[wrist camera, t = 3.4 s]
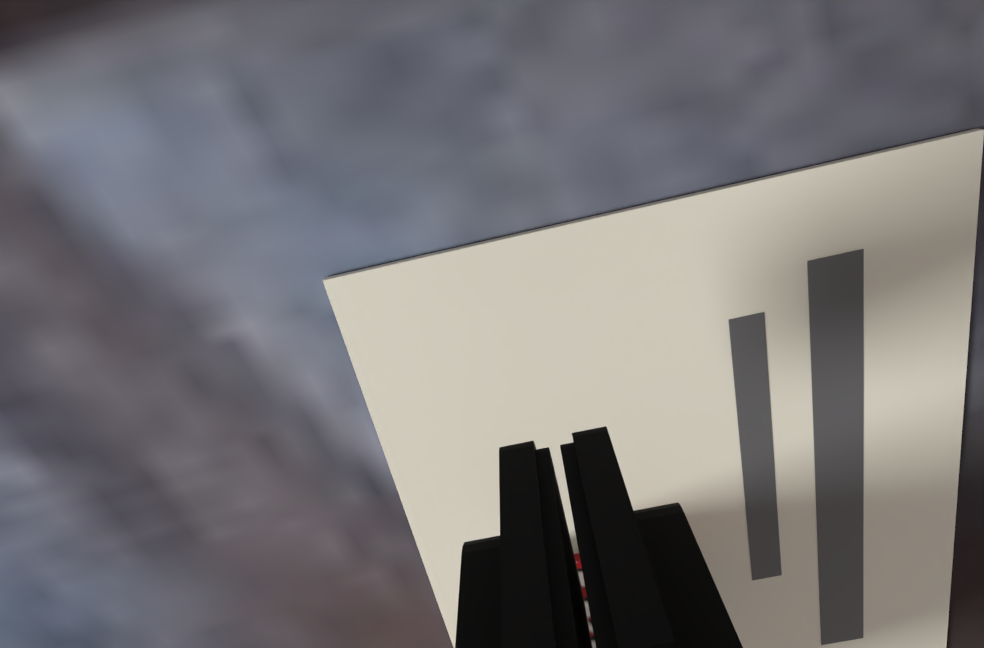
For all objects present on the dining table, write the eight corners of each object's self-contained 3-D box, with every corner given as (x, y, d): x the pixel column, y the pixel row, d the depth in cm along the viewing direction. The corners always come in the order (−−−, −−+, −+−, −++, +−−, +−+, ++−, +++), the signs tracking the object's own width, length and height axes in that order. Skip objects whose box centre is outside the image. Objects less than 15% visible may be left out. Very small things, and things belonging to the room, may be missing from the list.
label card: (324, 277, 14) (322, 280, 14) (977, 128, 13) (984, 129, 13) (488, 740, 20) (489, 747, 20) (940, 664, 19) (945, 671, 19)
